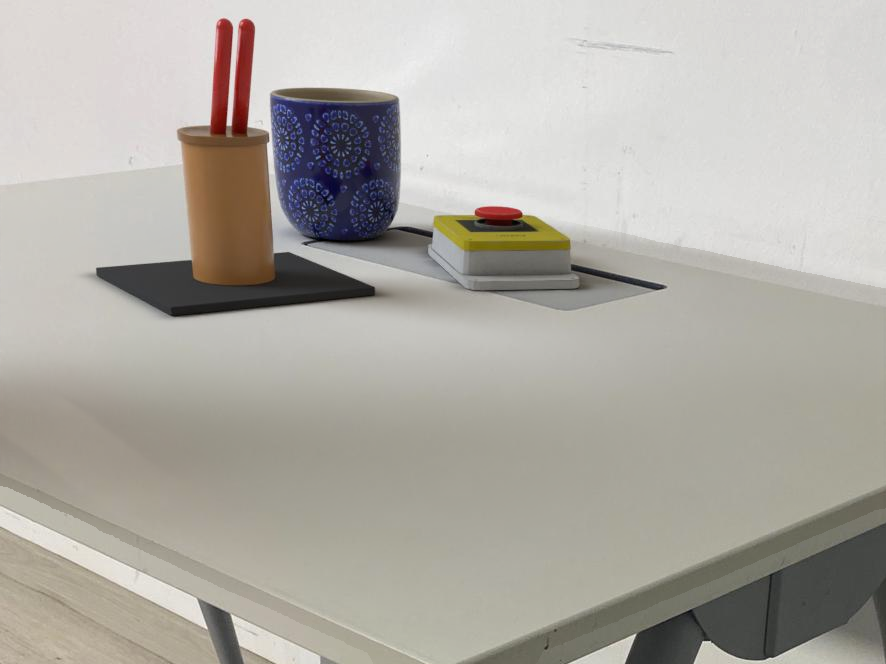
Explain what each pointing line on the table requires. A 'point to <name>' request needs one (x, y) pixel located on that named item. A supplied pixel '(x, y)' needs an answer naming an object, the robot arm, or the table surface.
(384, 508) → the table surface
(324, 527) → the table surface
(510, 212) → the emergency button
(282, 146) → the planter
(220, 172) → the pliers tin
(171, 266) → the mat
